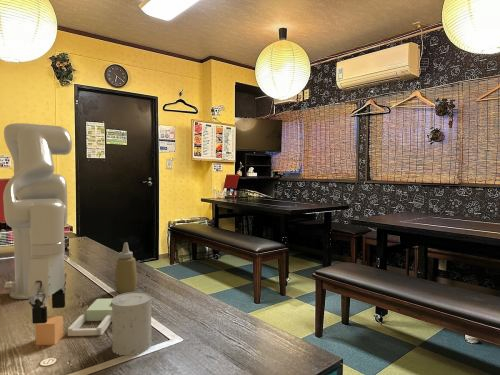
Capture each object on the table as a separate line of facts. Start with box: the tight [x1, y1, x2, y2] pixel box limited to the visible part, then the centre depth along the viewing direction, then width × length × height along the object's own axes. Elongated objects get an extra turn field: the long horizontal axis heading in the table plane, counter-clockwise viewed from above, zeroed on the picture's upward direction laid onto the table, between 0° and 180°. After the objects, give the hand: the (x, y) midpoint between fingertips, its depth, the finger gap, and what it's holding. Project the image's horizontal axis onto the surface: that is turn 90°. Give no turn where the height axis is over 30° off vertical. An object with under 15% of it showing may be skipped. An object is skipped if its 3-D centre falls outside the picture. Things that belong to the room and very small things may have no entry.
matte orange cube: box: [35, 315, 64, 346], centre depth 90 cm, size 5×5×6 cm
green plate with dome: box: [67, 298, 113, 337], centre depth 102 cm, size 15×18×4 cm
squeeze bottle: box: [114, 242, 139, 295], centre depth 126 cm, size 8×8×18 cm
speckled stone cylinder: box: [111, 291, 153, 356], centre depth 88 cm, size 10×10×12 cm
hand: (49, 314), depth 90 cm, fingers open, 9 cm apart
